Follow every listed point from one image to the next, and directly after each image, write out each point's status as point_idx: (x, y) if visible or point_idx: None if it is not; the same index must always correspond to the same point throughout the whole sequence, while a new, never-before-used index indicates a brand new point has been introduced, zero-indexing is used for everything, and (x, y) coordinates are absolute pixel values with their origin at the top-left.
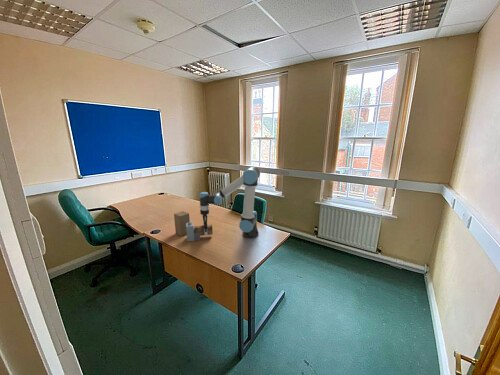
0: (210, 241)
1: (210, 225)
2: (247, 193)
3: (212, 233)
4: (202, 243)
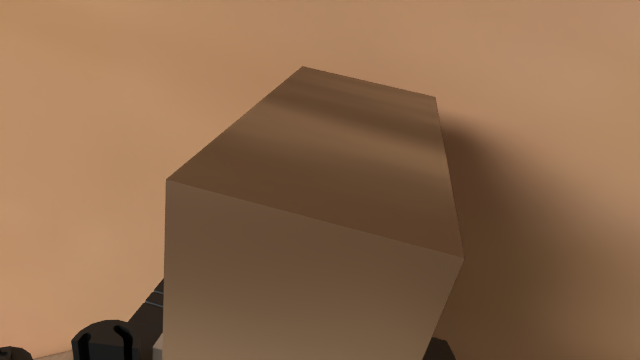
0: (618, 199)
1: (281, 297)
2: None
3: (435, 109)
4: (577, 346)
